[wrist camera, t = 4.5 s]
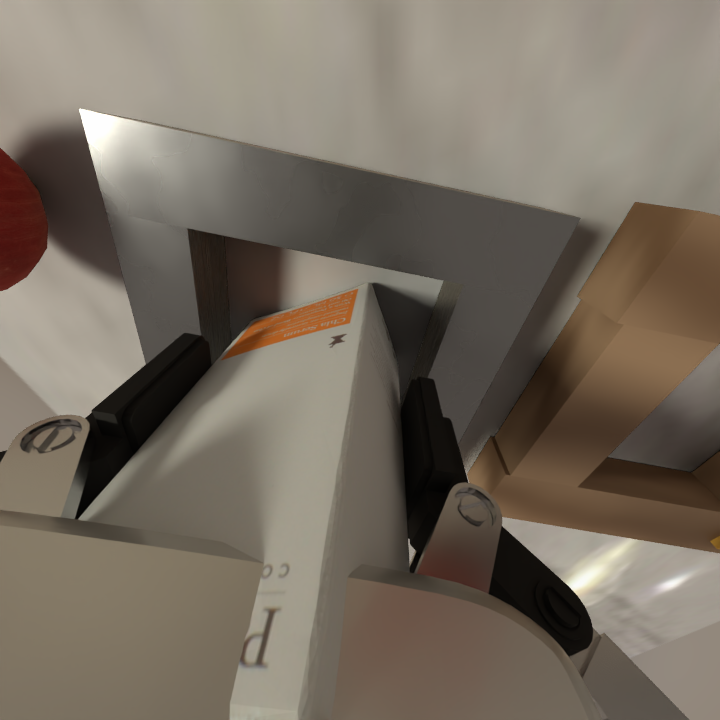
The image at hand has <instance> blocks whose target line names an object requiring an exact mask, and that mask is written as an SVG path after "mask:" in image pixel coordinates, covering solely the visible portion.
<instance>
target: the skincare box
mask: <svg viewBox="0 0 720 720" xmlns="http://www.w3.org/2000/svg"><path fill="white" fill-rule="evenodd" d="M78 520H83V521H90V522H96V523H103V524H110V525H116V526H123V527H129V528H136V529H143V530H149V531H156V532H162V533H169V534H176V535H182V536H188V537H195V538H201V539H208V540H214V541H220V542H224V543H226V544H228V545H230V546H231V547H233V548H235V549H237V550H239V551H241V552H243V553H245V554H247V555H249V556H251V557H253V558H255V559H257V560H259V561H261V562H263V563H264V566H263V570H262V574H261V578H260V583H259V587H258V591H257V595H256V599H255V603H254V608H253V612H252V616H251V620H250V624H249V629H248V631H247V634H246V637H245V640H244V646H243V651H242V654H241V658H240V661H239V665H238V670H237V674H236V679H235V683H234V688H233V692H232V697H231V701H230V720H331V716H332V710H333V704H334V697H335V690H336V681H337V673H338V665H339V656H340V648H341V638H342V628H343V617H344V607H345V596H346V585H347V577H348V576H349V575H350V574H351V573H352V572H353V571H354V570H355V569H356V568H358V567H359V566H360V565H361V564H364V565H370V566H376V567H382V568H387V569H393V570H398V571H404V572H409V573H410V569H409V548H408V529H407V512H406V493H405V476H404V457H403V439H402V424H401V408H400V391H399V370H398V360H397V357H396V354H395V351H394V348H393V345H392V342H391V339H390V335H389V332H388V329H387V327H386V324H385V321H384V318H383V315H382V313H381V310H380V307H379V304H378V301H377V298H376V295H375V292H374V288H373V285H372V284H371V283H365V284H363V285H360V286H358V287H355V288H352V289H349V290H346V291H343V292H340V293H337V294H334V295H331V296H328V297H325V298H322V299H319V300H316V301H313V302H310V303H307V304H304V305H300V306H297V307H293V308H290V309H287V310H283V311H280V312H276V313H273V314H270V315H267V316H263V317H259V318H256V319H253V320H252V321H251V322H250V323H249V324H248V325H247V326H246V328H245V329H244V330H243V331H242V332H241V333H240V334H239V336H238V337H237V338H236V339H235V340H234V341H233V342H232V343H231V345H230V346H229V347H228V348H227V349H226V350H225V351H224V352H223V354H222V355H221V356H220V357H219V358H218V359H217V360H216V362H215V363H214V364H213V365H212V366H211V367H210V368H209V370H208V371H207V372H206V373H205V374H204V375H203V377H202V378H201V379H200V380H199V381H198V382H197V383H196V384H195V385H194V387H193V388H192V389H191V390H190V391H189V392H188V394H187V395H186V396H185V397H184V398H183V399H182V400H181V401H180V403H179V404H178V405H177V406H176V407H175V408H174V409H173V411H172V412H171V413H170V414H169V415H168V416H167V418H166V419H165V420H164V421H163V422H162V423H161V424H160V426H159V427H158V428H157V429H156V430H155V431H154V432H153V434H152V435H151V436H150V437H149V438H148V439H147V440H146V442H145V443H144V444H143V445H142V446H141V447H140V448H139V450H138V451H137V452H136V453H135V454H134V455H133V456H132V457H131V459H130V460H129V461H128V462H127V463H126V465H125V466H124V467H123V468H122V469H121V470H120V472H119V473H118V474H117V475H116V476H115V477H114V478H113V479H112V481H111V482H110V483H109V484H108V485H107V486H106V487H105V488H104V490H103V491H102V492H101V493H100V494H99V495H98V496H97V497H96V499H95V500H94V501H93V502H92V503H91V504H90V506H89V507H88V508H87V509H86V510H85V512H84V513H83V514H82V515H81V516H80V517H79V518H78Z"/></svg>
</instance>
